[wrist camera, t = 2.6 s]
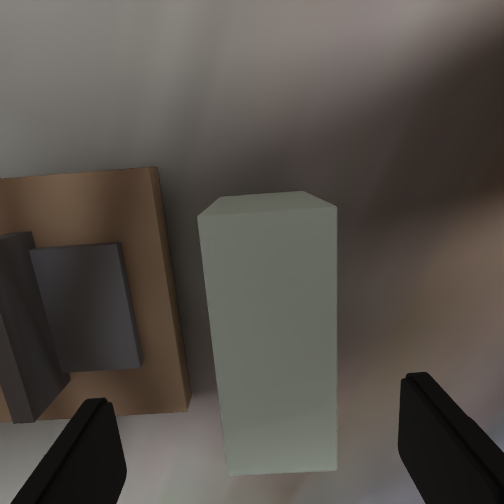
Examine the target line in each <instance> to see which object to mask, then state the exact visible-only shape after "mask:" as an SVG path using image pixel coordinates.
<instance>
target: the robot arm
mask: <svg viewBox="0 0 504 504" xmlns="http://www.w3.org/2000/svg"><path fill="white" fill-rule="evenodd" d="M398 451H399V455H400V457H401V459H402V461H403V463H404V465H405V467H406V469H407V471H408V472H409V474H410V476H411V478H412V480H413V481H414V483H415V485H416V487H417V489H418V491H419V492H420V494H421V496H422V498H423V500H424V502H425V503H426V504H504V453H503V451H502V450H501V449H500V448H499V447H498V446H497V445H496V444H495V443H494V442H493V441H492V440H491V439H490V437H489V436H488V435H487V434H486V433H485V432H484V431H483V430H482V429H481V428H480V427H479V426H478V424H477V423H476V422H475V421H474V420H473V419H471V418H470V417H469V416H467V415H466V414H465V413H464V412H463V410H462V409H461V408H460V407H459V406H458V405H457V404H456V403H455V402H454V401H453V400H452V398H451V397H450V396H449V395H448V394H447V393H446V392H445V391H444V390H443V389H442V388H441V387H440V385H439V384H438V383H437V382H436V381H435V380H434V379H433V378H432V377H431V376H430V375H429V374H428V373H427V372H417V373H408V374H407V375H406V378H403V379H402V380H401V390H400V411H399V431H398ZM126 474H127V467H126V462H125V458H124V453H123V449H122V444H121V439H120V435H119V430H118V426H117V421H116V417H115V412H114V407H113V404H112V402H108V400H107V399H106V398H104V397H103V398H90V399H86V400H85V401H84V402H83V403H82V404H81V406H80V407H79V408H78V410H77V411H76V413H75V414H74V415H73V417H72V418H71V420H70V421H69V423H68V424H67V425H66V427H65V428H64V430H63V431H62V432H61V434H60V435H59V437H58V438H57V439H56V441H55V442H54V444H53V445H52V446H51V448H50V449H49V451H48V452H47V453H46V455H45V456H44V457H43V459H42V460H41V461H40V463H39V464H38V466H37V467H36V468H35V470H34V471H33V473H32V474H31V475H30V477H29V478H28V480H27V481H26V482H25V484H24V485H23V487H22V488H21V489H20V491H19V492H18V494H17V495H16V497H15V498H14V499H13V501H12V502H11V504H116V503H117V501H118V498H119V496H120V493H121V491H122V488H123V485H124V483H125V480H126Z"/></svg>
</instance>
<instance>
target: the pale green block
mask: <svg viewBox="0 0 504 504" xmlns="http://www.w3.org/2000/svg"><path fill="white" fill-rule="evenodd" d="M197 221H198V229H199V238H200V246H201V254H202V263H203V271H204V280H205V288H206V297H207V305H208V313H209V322H210V330H211V339H212V347H213V355H214V364H215V372H216V381H217V389H218V398H219V406H220V414H221V423H222V431H223V440H224V448H225V456H226V465H227V473H228V476H235V475H255V474H275V473H295V472H316V471H336V470H337V206H335V205H333V204H330V203H328V202H326V201H324V200H322V199H320V198H318V197H316V196H313V195H311V194H309V193H307V192H305V191H292V192H278V193H264V194H250V195H236V196H223V197H219V198H218V199H217V200H216V201H215V202H213V203H212V204H211V205H210V206H209V207H208V208H206V209H205V210H204V211H203V212H202V213H201V214H199V215H198V216H197Z"/></svg>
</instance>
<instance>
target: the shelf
mask: <svg viewBox="0 0 504 504" xmlns="http://www.w3.org/2000/svg"><path fill="white" fill-rule="evenodd" d="M103 397H104V398H106V399H107V400H108V402H112V404H113V407H114V412H115V416H121V415H139V414H156V413H173V412H187V410H188V407H189V403H190V399H191V390H190V383H189V376H188V370H187V363H186V356H185V350H184V343H183V336H182V329H181V323H180V316H179V309H178V303H177V296H176V289H175V283H174V276H173V269H172V263H171V256H170V249H169V242H168V236H167V229H166V222H165V216H164V209H163V202H162V196H161V189H160V182H159V175H158V169H157V167H144V168H131V169H118V170H105V171H93V172H80V173H67V174H55V175H42V176H29V177H17V178H4V179H0V422H13V424H14V423H31V422H35V421H36V420H52V419H69V418H72V417H73V415H74V414H75V413H76V411H77V410H78V408H79V407H80V406H81V404H82V403H83V402H84V401H85V400H86V399H90V398H103Z"/></svg>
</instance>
